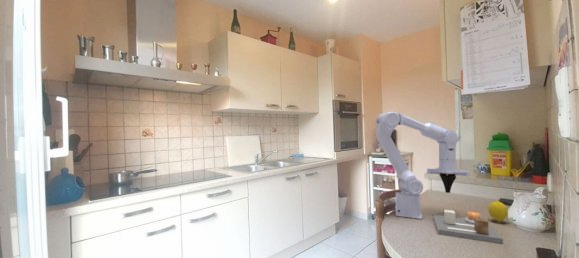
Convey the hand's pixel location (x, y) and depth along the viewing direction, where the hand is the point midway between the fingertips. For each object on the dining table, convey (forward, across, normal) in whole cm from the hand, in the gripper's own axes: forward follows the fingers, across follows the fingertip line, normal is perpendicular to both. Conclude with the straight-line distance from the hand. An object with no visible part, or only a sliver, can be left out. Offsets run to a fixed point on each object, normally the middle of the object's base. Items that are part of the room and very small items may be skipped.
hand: (447, 192), depth 100 cm
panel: (+9, +2, -15) cm, 18 cm away
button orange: (+7, +6, -10) cm, 14 cm away
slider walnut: (+8, +6, -20) cm, 22 cm away
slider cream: (+8, -2, -14) cm, 16 cm away
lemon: (+10, +16, -1) cm, 19 cm away
